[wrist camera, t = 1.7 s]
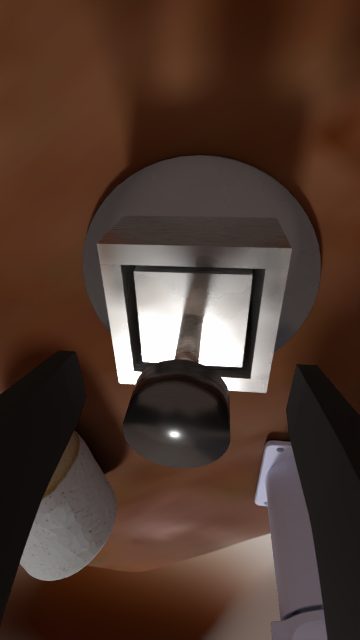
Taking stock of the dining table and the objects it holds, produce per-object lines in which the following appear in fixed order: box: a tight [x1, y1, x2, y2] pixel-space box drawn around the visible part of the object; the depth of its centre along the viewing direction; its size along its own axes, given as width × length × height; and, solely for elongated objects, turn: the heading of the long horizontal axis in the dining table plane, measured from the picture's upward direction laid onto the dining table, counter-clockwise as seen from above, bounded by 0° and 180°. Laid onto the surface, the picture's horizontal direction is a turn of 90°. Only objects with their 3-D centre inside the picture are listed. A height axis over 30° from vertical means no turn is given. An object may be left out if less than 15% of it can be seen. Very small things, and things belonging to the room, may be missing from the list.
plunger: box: [123, 265, 253, 468], centre depth 12 cm, size 5×5×6 cm
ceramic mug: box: [20, 430, 117, 581], centre depth 24 cm, size 11×8×8 cm
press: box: [83, 154, 321, 393], centre depth 15 cm, size 12×12×4 cm
